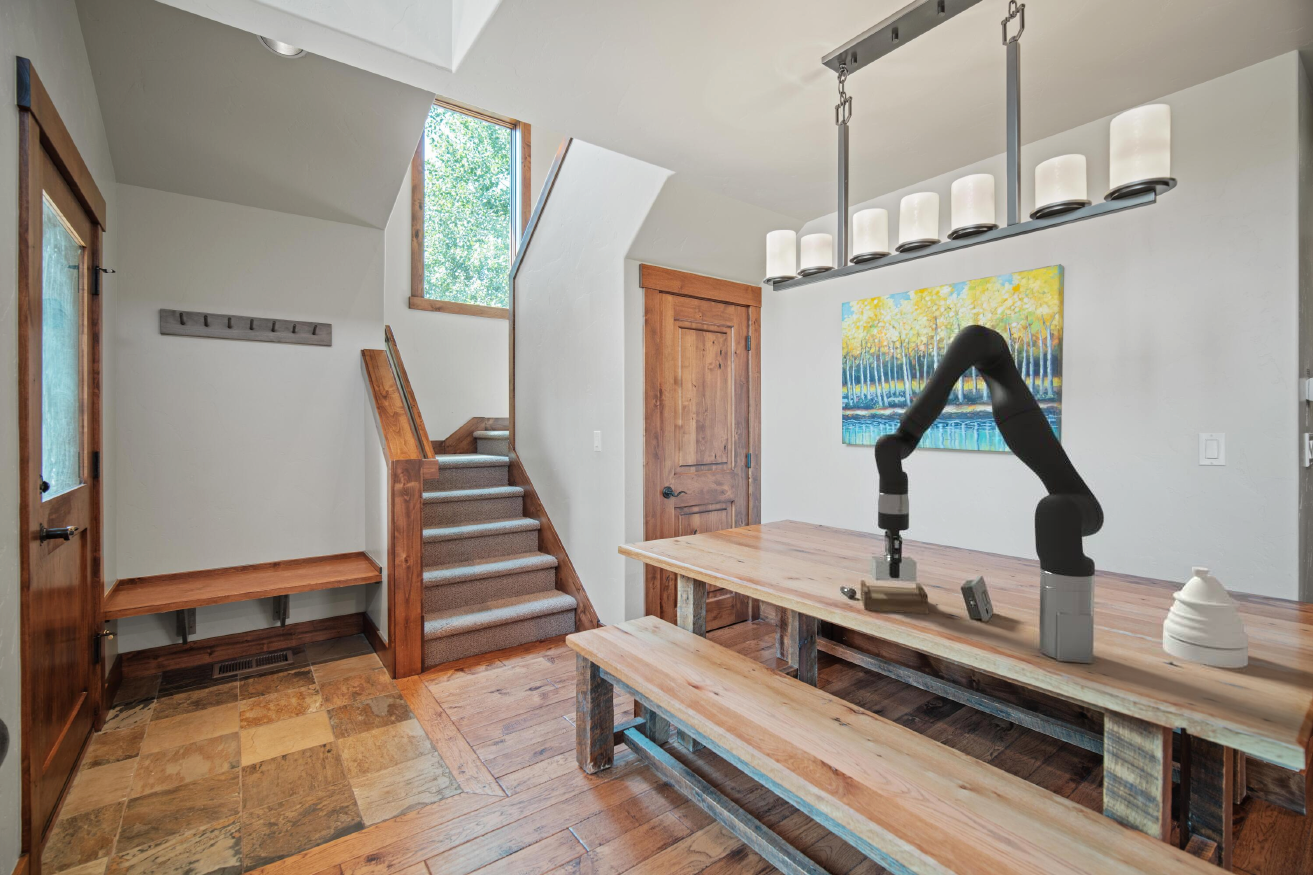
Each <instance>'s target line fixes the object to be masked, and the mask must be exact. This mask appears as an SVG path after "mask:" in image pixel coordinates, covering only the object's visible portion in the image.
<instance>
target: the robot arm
mask: <svg viewBox="0 0 1313 875" xmlns="http://www.w3.org/2000/svg"><path fill="white" fill-rule="evenodd" d="M972 367H973V368H974V369H975V370H976V371H977V372H978V374H979V375H980V377H981V378H982V380H983V381H984V383H985V385H986V387H987V389H988V391H989V394H990V400H991V410H992V416H993V420H994V423H995V425H996V428H997V429H998V431H999V433H1000V435H1001V437H1002V439H1003V441H1004V443H1005V445H1006V446H1007V447H1008V449H1009V450H1010V451H1011V453H1013V455H1014V456H1016V457H1017V458H1018V459H1019V461H1020V462H1022V463H1023V464H1024V465H1026V466H1027V467H1028V468H1029V469H1030V470H1031V471H1032V472H1033V473H1034V474H1035V475H1036V476H1037V477H1038V478H1039V479H1040V481H1041V482H1042V484H1043V485H1044V488H1045V489H1046V491H1047V493H1048V495H1046V496H1044V497H1042V498H1041V499H1040V500H1039V501H1038V503H1037V504H1036V508H1035V512H1034V537H1035V538H1034V539H1035V553H1036V555H1037V557H1038V559H1039V567H1040V568H1039V569H1040V570H1039V572H1040V574H1039V627H1038V628H1039V630H1038V631H1039V633H1038V634H1039V635H1038V636H1039V642H1038V643H1039V644H1038V648H1039V651H1040V652H1041V653H1042V654H1044V655H1045V656H1048V657H1050V658H1052V659H1055V660H1056V661H1057V662H1071V663H1080V664H1081V663H1082V664H1093V662H1094V648H1095V647H1094V641H1095V640H1094V639H1095V638H1094V636H1095V634H1094V630H1095V584H1096V583H1095V580H1096V579H1095V577H1096V576H1095V574H1096V570H1095V569H1096V568H1095V567H1096V566H1095V561H1094V559H1092V558H1091V557H1089V556H1086V554H1085V553H1084V547H1083V546H1084V545H1083V544H1084V543H1083V538H1084V537H1089V536H1092V535H1095V534H1097V533H1099V531H1101V529H1102V528H1103V525H1104V520H1105V517H1104V516H1105V515H1104V510H1103V508H1102V506H1101V504H1100V502H1099V500H1098V499H1097V497H1096V496H1095V494H1094V493H1093V492H1092V490H1091V489H1090V488H1089V486H1088V484H1087V483H1086V482H1085V480H1084V479H1083V478H1082V476H1081V475H1080V474H1079V472H1078V471H1077V469H1076V468H1075V467H1074V465H1073V463H1072V461H1071V459H1070V458H1069V456H1068V455H1067V453H1066V450H1065V449H1064V447H1063V445H1062V444H1061V442H1060V440H1059V439H1058V437H1057V435H1056V434H1055V432H1054V429H1053V428H1052V426H1051V424H1050V422H1049V419H1048V418H1047V417H1046V414H1045V413H1044V411H1043V409H1042V407H1041V406H1040V405H1039V403H1038V402H1037V400H1036V398H1035V396H1034V395H1033V393H1032V391H1031V389H1030V387H1028V385H1027V383H1026V382H1025V381H1024V379H1023V378H1022V375H1021V374H1020V371H1019V369H1018V367H1017V365H1016V362H1015V360H1014V358H1013V355H1012V353H1011V350H1010V348H1009V345H1008V343H1007V341H1006V339H1005V338H1004V336H1003V335H1002V334H1001V333H1000V332H998V331H996V330H995V329H993V328H990V327H987V326H983V325H981V324H969V325H967V326H965V327H963V328H962V329H960V330H959V331H958V332H957V334H956V335H955V336H954V338H953V339H952V341H951V342H950V344H949V346H948V347H947V349H946V351H945V353H944V354H943V356H942V358H941V360H940V361H939V363H938V364H937V366H936V368H935V369H934V372H933V373H932V375H931V376H930V378H929V379H928V381H927V382H926V384H925V385H924V386H923V388H922V389H921V391H920V392H919V394H917V396H916V397H915V398H914V399H913V401H912V402H911V403H910V404H909V406H908V407H907V408H906V410H905V411H904V412H903V414H902V415H901V417H900V418H899V426H898V427H897V428H896V430H895V431H894V432H893V433H887V434H883V435H881V436H879V438H878V439H877V440H876V441H875V445H874V458H875V460H874V461H875V464H876V469H877V473H878V477H879V480H878V484H879V485H878V491H879V492H878V499H877V526H878V528H879V529H880V530H885V531H884V535H883V536H884V538H883V539H884V551H885V556H887V555H889V556H890V560H889V562H890V577H891V578H899V576H900V563H901V562H902V560H901V559H902V557H903V537H902V534H900V532H901V531H908V529H909V528H910V501H909V476H908V474H907V472H906V471H904V470H903V463H902V461H903V460H905V459H907V458H908V457H909V456H910V455H912V454H913V452H914V451H915V450H916V448H917V447H918V446H919V444H920V443H921V442H920V441H921V440H922V438H923V437H924V434H925V433H926V432H927V431H928V429H930V427H931V426H932V425H933V424H935V422H936V421H937V419H938V418H939V417H940V416H941V414H942V413H943V411H944V410H945V408H946V406H947V404H948V401H949V400H950V399H949V398H950V396H951V393H952V392H953V389H954V387H955V386H956V384H957V383H958V381H959V380H960V379H961V377H963V375H965V373H966V372H967V371H968V370H969V369H971V368H972ZM893 555H897V556H898V558H893Z"/></svg>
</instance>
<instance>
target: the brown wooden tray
mask: <svg viewBox="0 0 1313 875" xmlns="http://www.w3.org/2000/svg"><path fill="white" fill-rule="evenodd" d="M860 598H861V602H862V605H863V610H865V611H881V612H882V611H883V612H894V611H900V612H899V613H909V612H912V614H924V615H925V614H927V615H928V614H929V601H928V600H929V596H928V593H927V592H926V590H925V588H924V587H923V586H922V584H921V583H920V582H916V583H915V587H901V586H884V585H868V584H867V583H866V581H865V580H864V579H860ZM901 611H903V612H901Z"/></svg>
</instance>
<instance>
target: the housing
mask: <svg viewBox="0 0 1313 875" xmlns="http://www.w3.org/2000/svg"><path fill="white" fill-rule="evenodd" d="M893 558H898V556H897V555H893ZM889 560H890V556H889V555H887V556H886V555H885V556H883V555H882V556H881V555H880V556H879V555H877V556H875V555H874V556H873V555H871V556H870V576H871V577H872V578H873V579H874V580H875V581H876V582H877V581H880V582H881V581H883V582H886V581H887V582H892V581H893V582H917V561H916V560H915V559H913V558H912V557H911V556H902V559H901V560H902V562H901V563H900V576H899V578H891V577H890V562H889Z"/></svg>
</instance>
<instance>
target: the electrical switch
mask: <svg viewBox="0 0 1313 875" xmlns="http://www.w3.org/2000/svg"><path fill="white" fill-rule="evenodd" d="M960 591H961V594H962V596H963V600H964V604H965V606H966V607H965V608H966V611H967V613H968V617H969V620H978V619H980V620H981V621H982V622H983V623H984V622H985V623H986V622H988V621H989V619H990V618H991V617H992V615H993V614H994V612H995V611H994V608H993V605H992V602H991V601H992V600H991V598H990V595H989V591H988V587H987V585H986V582H985V579H984V576H983V575H978V576H977V577H976V578H975V579H971V580H966V581H965V582H964V583H963V584H962V585H961V586H960Z"/></svg>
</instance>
